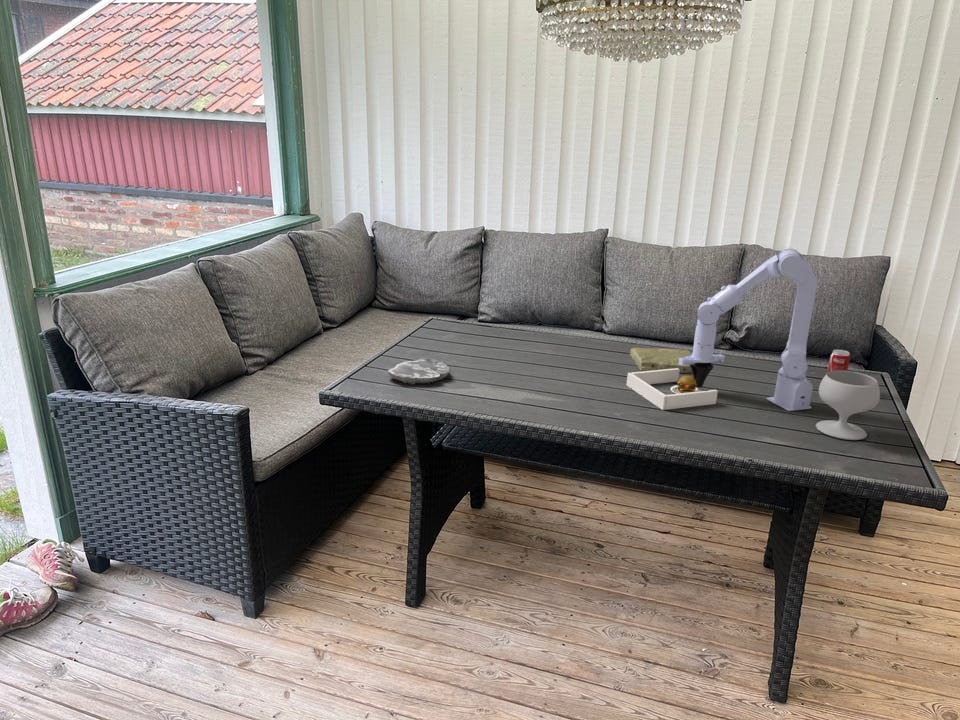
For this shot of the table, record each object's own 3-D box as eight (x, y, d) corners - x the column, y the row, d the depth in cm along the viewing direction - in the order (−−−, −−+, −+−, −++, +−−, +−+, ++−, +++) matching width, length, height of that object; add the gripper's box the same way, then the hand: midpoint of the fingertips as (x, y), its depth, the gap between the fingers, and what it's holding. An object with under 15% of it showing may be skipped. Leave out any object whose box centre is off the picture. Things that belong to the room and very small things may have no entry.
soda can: (826, 384, 216) (833, 347, 212) (844, 388, 213) (852, 351, 209) (822, 389, 212) (830, 352, 208) (841, 393, 209) (849, 355, 205)
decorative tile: (629, 355, 240) (630, 345, 239) (687, 357, 240) (688, 347, 239) (639, 373, 223) (640, 363, 222) (702, 375, 222) (703, 365, 221)
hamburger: (660, 396, 204) (662, 378, 203) (670, 384, 214) (672, 367, 213) (701, 404, 199) (704, 386, 197) (710, 391, 209) (712, 374, 207)
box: (715, 403, 198) (717, 390, 197) (662, 410, 193) (664, 396, 192) (676, 380, 216) (677, 368, 215) (626, 385, 211) (627, 372, 210)
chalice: (824, 416, 191) (834, 365, 187) (878, 432, 182) (891, 379, 177) (802, 430, 182) (812, 376, 177) (859, 448, 173) (871, 391, 168)
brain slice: (422, 392, 202) (422, 383, 201) (380, 379, 211) (380, 370, 210) (463, 375, 217) (464, 366, 216) (423, 363, 226) (423, 355, 225)
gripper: (716, 337, 208) (710, 379, 213) (675, 340, 204) (669, 383, 208) (731, 344, 202) (725, 387, 206) (689, 347, 198) (683, 392, 202)
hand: (698, 386), depth 207 cm, fingers closed
